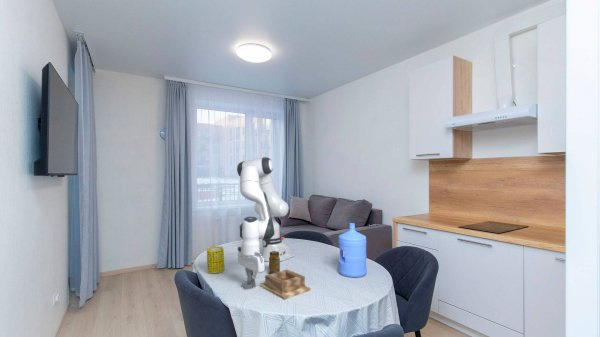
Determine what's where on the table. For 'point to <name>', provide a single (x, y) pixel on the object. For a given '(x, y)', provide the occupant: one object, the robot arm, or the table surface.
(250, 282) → the bracket
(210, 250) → the food
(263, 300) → the table surface
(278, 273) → the box
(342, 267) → the water jug
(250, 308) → the table surface
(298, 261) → the table surface
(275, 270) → the condiment
